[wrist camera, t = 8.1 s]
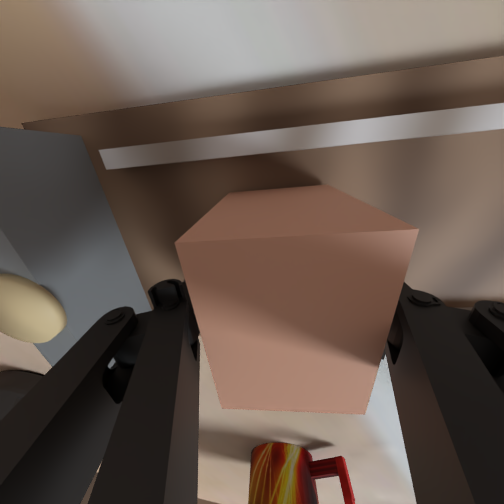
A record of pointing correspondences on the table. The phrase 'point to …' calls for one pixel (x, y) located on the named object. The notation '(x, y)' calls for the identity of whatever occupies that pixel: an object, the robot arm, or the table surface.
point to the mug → (292, 475)
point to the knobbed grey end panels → (58, 244)
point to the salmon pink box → (295, 296)
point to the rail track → (320, 164)
